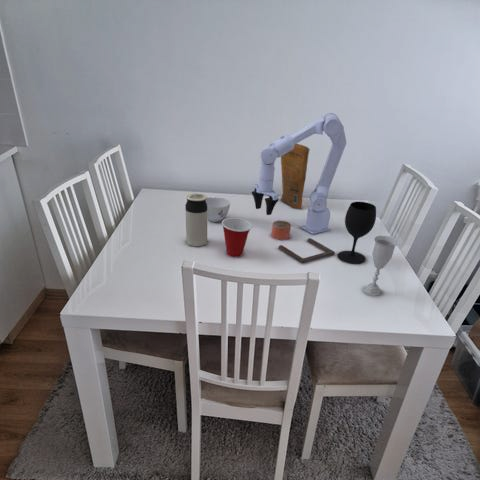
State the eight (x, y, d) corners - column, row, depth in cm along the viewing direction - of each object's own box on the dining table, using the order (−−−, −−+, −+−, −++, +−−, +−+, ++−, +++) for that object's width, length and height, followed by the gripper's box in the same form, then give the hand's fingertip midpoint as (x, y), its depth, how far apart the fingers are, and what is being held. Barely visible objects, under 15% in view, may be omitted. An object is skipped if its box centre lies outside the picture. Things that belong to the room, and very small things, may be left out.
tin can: (282, 231, 174) (283, 219, 171) (293, 237, 169) (295, 225, 166) (267, 234, 170) (268, 222, 167) (278, 241, 165) (280, 229, 162)
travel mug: (211, 242, 161) (212, 196, 150) (196, 248, 156) (195, 201, 145) (197, 236, 165) (197, 191, 154) (182, 242, 160) (180, 195, 150)
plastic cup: (247, 262, 149) (249, 230, 142) (217, 258, 150) (218, 226, 143) (252, 249, 158) (254, 219, 151) (224, 245, 159) (225, 215, 152)
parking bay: (309, 240, 167) (310, 237, 166) (334, 254, 158) (334, 251, 157) (278, 248, 159) (278, 245, 159) (302, 263, 150) (302, 260, 149)
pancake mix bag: (295, 211, 193) (303, 147, 177) (272, 198, 206) (278, 138, 190) (307, 209, 196) (316, 146, 180) (283, 196, 209) (290, 137, 193)
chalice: (358, 285, 139) (371, 235, 129) (378, 285, 140) (392, 235, 130) (365, 297, 133) (379, 245, 123) (386, 297, 134) (401, 246, 124)
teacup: (235, 221, 179) (236, 203, 175) (211, 227, 173) (211, 208, 168) (215, 210, 189) (216, 193, 184) (192, 215, 182) (191, 197, 178)
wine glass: (366, 254, 159) (379, 203, 148) (364, 266, 151) (377, 213, 139) (339, 249, 162) (349, 198, 150) (335, 260, 153) (346, 208, 142)
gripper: (247, 174, 169) (245, 207, 177) (269, 185, 160) (266, 219, 167) (262, 172, 173) (259, 204, 180) (283, 182, 163) (279, 216, 171)
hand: (263, 211), depth 174 cm, fingers open, 7 cm apart
